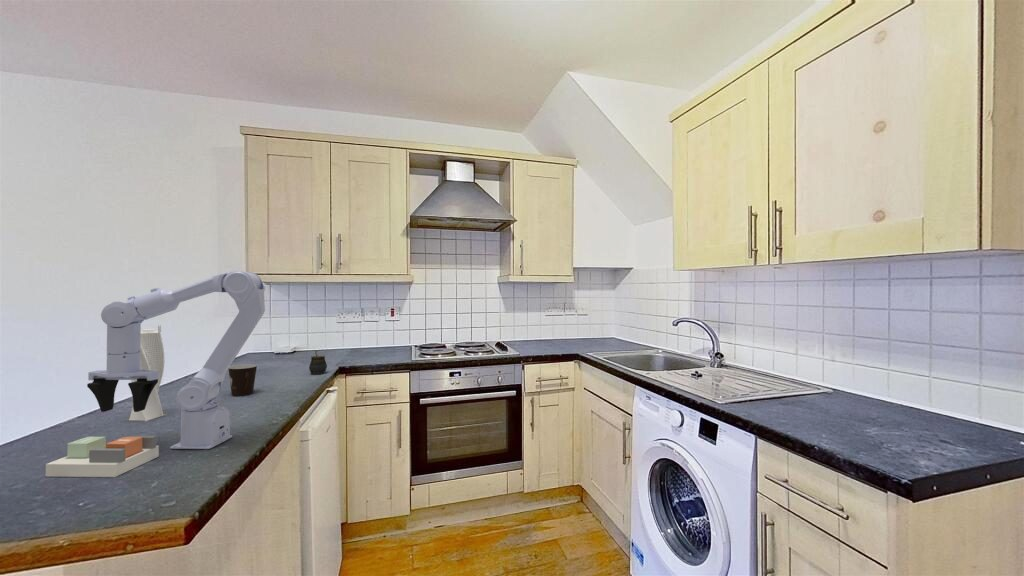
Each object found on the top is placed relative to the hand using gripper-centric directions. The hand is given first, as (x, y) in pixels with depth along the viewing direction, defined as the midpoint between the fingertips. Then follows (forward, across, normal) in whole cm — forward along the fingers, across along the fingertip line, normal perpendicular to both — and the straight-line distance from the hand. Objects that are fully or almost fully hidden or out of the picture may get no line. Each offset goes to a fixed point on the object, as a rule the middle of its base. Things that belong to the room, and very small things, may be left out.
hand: (123, 410), depth 94 cm
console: (+9, -4, +8) cm, 13 cm away
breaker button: (+7, -8, +8) cm, 14 cm away
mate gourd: (+10, -4, -88) cm, 88 cm away
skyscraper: (+10, +16, -24) cm, 30 cm away
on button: (+7, 0, +8) cm, 11 cm away
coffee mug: (+10, +6, -50) cm, 51 cm away
